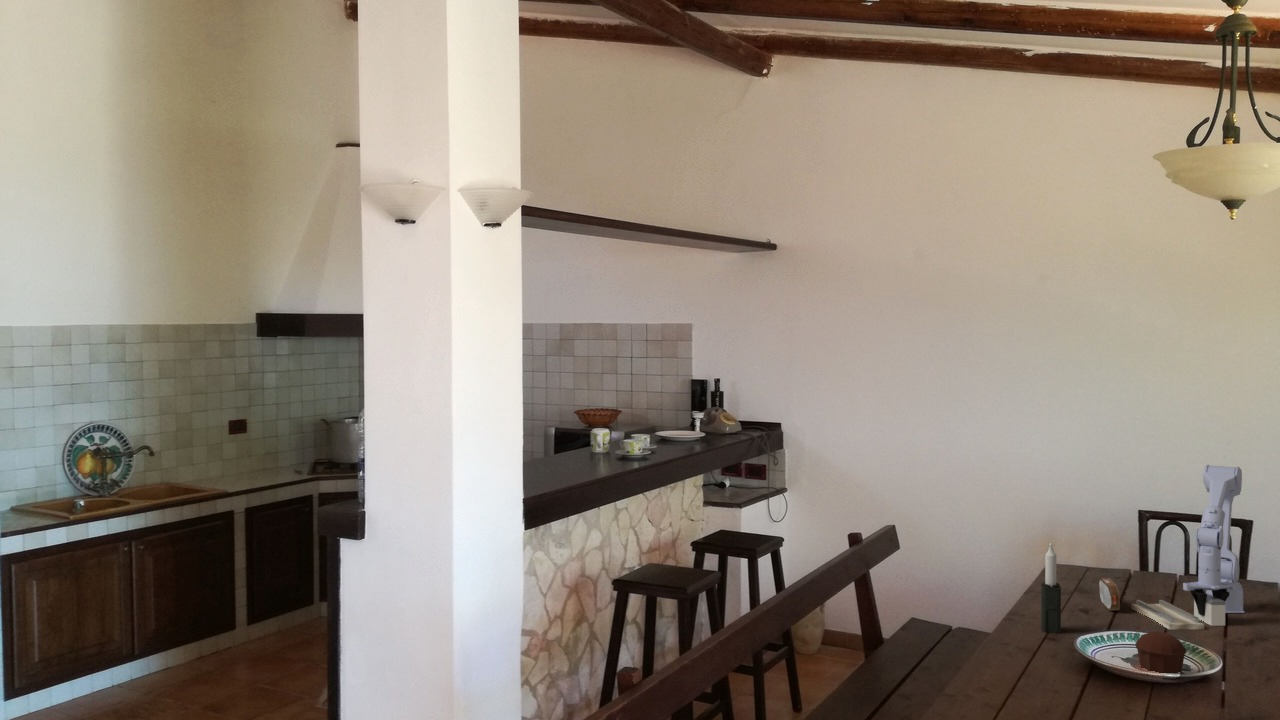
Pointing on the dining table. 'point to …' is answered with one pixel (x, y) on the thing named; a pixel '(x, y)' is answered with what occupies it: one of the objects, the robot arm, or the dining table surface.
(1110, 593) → the tin
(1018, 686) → the dining table surface
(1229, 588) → the robot arm
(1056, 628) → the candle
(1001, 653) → the dining table surface
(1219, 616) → the block
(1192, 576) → the dining table surface
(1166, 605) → the rail board
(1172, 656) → the muffin
